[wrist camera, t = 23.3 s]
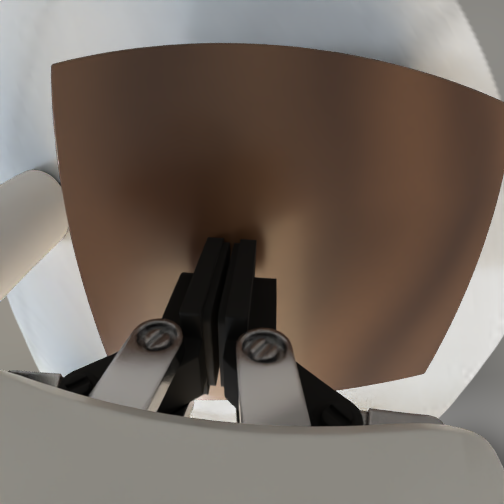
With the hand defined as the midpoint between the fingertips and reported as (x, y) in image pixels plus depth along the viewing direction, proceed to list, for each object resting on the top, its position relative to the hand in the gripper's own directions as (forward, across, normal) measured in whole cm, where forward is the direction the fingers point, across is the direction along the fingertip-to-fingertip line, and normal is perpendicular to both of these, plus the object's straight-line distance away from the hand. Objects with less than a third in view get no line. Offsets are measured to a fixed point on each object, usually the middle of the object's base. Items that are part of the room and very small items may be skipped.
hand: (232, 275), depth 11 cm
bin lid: (+1, -3, 0) cm, 3 cm away
